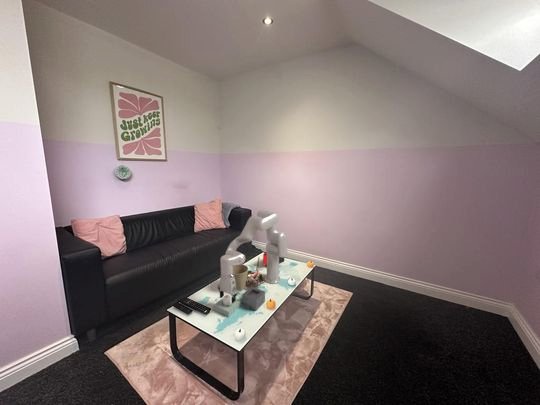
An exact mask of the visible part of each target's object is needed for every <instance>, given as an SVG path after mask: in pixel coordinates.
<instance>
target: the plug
mask: <svg viewBox="0 0 540 405" xmlns="http://www.w3.org/2000/svg"><path fill="white" fill-rule="evenodd" d="M222 298H223V305H224V306H226V307H229V306H230V305H231V304H232V296H231V294H228V293H226V294H225V295H224V296H223V297H222Z"/></svg>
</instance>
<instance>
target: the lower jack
mask: <svg viewBox="0 0 540 405" xmlns="http://www.w3.org/2000/svg"><path fill="white" fill-rule="evenodd" d="M241 306H242V300H240V299H237V298H236V301H235V302H234V303H232V304H231V305H230V306H229V307H226V306H224V305H223V297H222V298H220V299H219V301H217V302H216V303H214V304H213V311H215V312H217V313H219V314H222V315H224V316H227V317H228V318H230V317H231V316H232V315H233V314H234V313H235V312H236V311H237V310H238V309H239V308H240V307H241Z"/></svg>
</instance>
